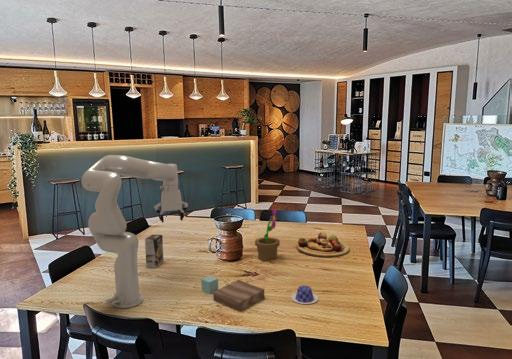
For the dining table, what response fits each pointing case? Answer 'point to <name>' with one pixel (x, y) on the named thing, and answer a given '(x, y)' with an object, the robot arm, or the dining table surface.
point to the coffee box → (154, 251)
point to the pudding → (304, 295)
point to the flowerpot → (268, 243)
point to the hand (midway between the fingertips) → (172, 220)
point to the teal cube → (209, 284)
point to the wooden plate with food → (322, 246)
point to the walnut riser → (238, 295)
